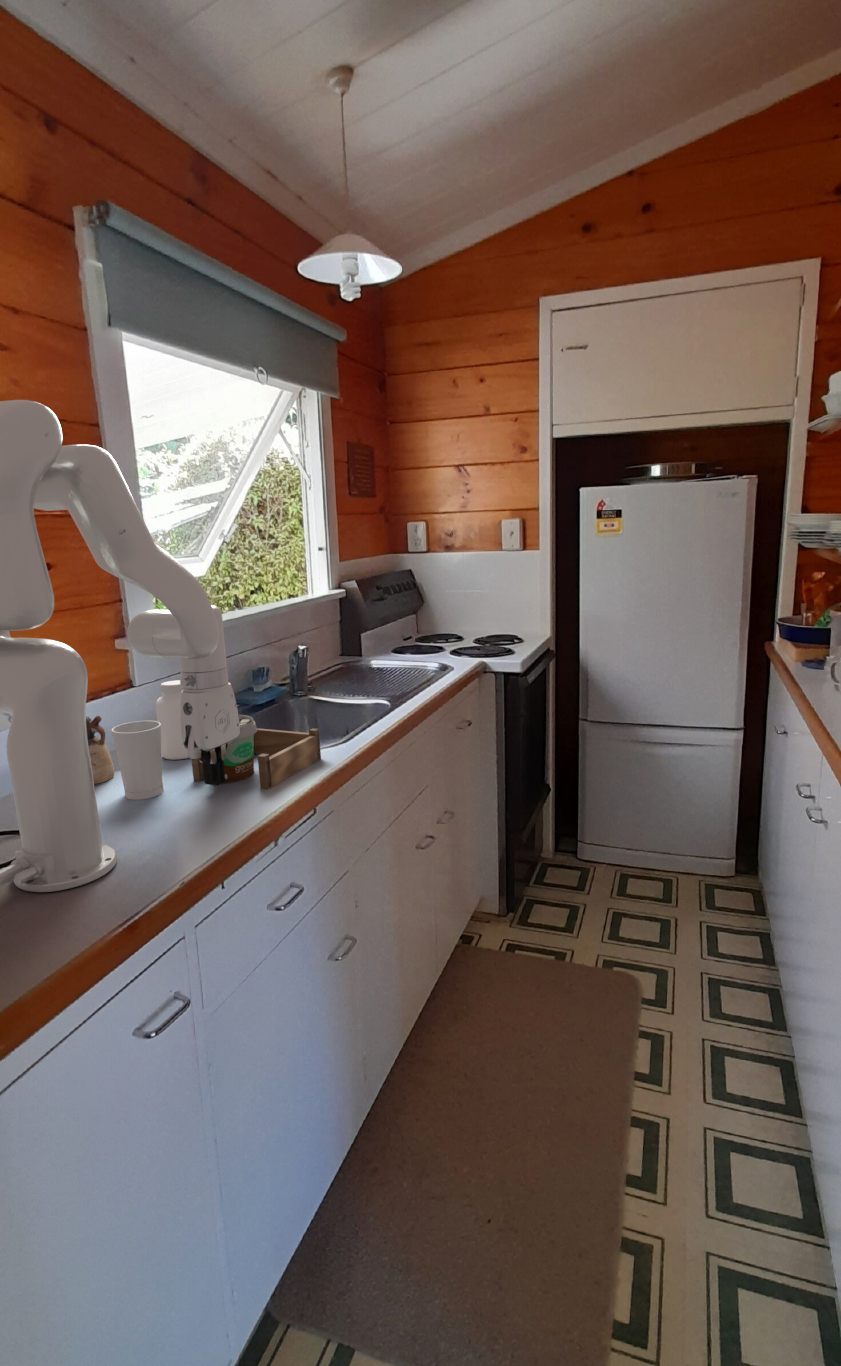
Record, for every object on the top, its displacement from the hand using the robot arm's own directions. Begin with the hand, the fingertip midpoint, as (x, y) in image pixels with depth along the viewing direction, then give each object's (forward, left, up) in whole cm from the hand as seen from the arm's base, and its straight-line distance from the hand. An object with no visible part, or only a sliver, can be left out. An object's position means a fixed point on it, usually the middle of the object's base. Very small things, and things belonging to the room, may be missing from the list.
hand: (215, 783), depth 127 cm
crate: (+13, 0, -2) cm, 13 cm away
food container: (+9, +1, -2) cm, 9 cm away
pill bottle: (+16, +21, -2) cm, 26 cm away
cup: (-4, +12, -2) cm, 13 cm away
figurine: (-1, +27, -2) cm, 27 cm away
